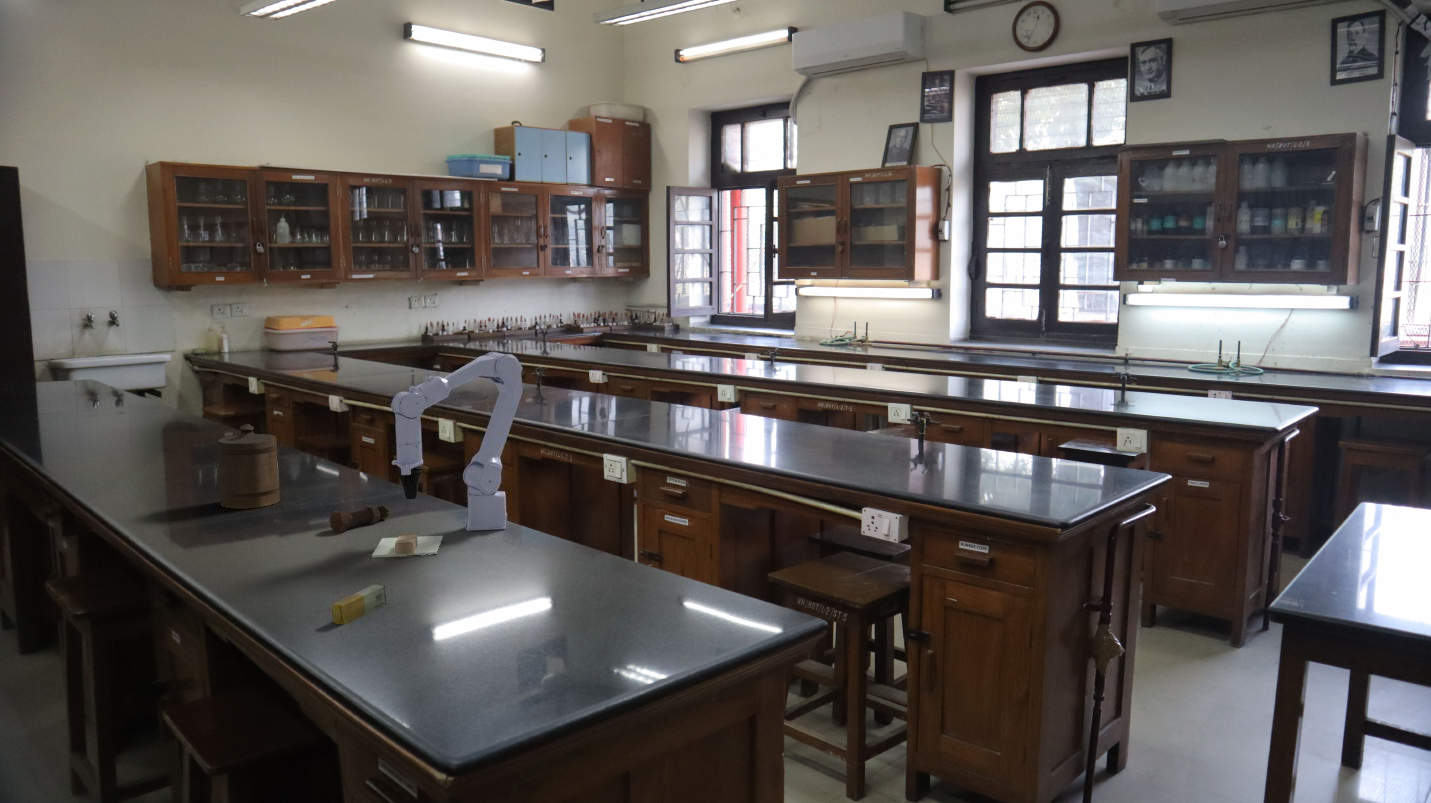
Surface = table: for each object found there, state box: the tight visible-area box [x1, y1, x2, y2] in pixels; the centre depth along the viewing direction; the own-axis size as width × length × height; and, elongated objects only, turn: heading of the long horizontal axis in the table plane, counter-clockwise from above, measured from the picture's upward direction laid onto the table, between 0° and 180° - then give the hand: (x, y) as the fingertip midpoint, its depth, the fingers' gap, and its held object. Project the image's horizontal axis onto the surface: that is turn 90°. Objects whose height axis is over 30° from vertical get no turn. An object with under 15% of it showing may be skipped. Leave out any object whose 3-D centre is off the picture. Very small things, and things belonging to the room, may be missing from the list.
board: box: [371, 535, 444, 559], centre depth 225 cm, size 14×14×1 cm
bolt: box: [329, 505, 390, 533], centre depth 245 cm, size 6×5×15 cm
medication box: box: [331, 583, 387, 626], centre depth 182 cm, size 12×3×4 cm, turn 160°
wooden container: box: [217, 423, 281, 510], centre depth 266 cm, size 15×15×22 cm
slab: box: [395, 534, 418, 554], centre depth 221 cm, size 4×2×7 cm
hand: (411, 498), depth 231 cm, fingers closed
